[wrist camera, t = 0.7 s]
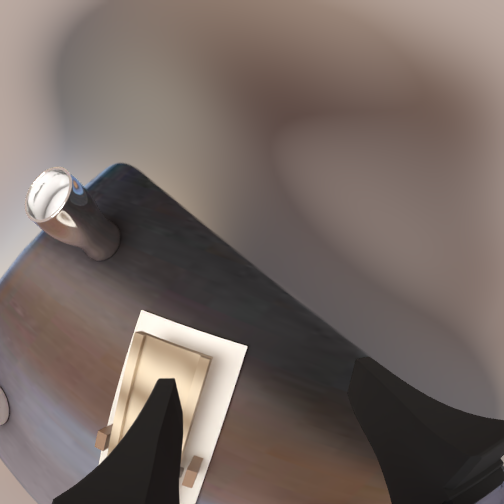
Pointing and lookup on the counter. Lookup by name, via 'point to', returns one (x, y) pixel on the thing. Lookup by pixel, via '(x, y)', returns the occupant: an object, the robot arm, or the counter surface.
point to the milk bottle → (3, 408)
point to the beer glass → (70, 214)
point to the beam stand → (211, 401)
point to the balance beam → (146, 375)
